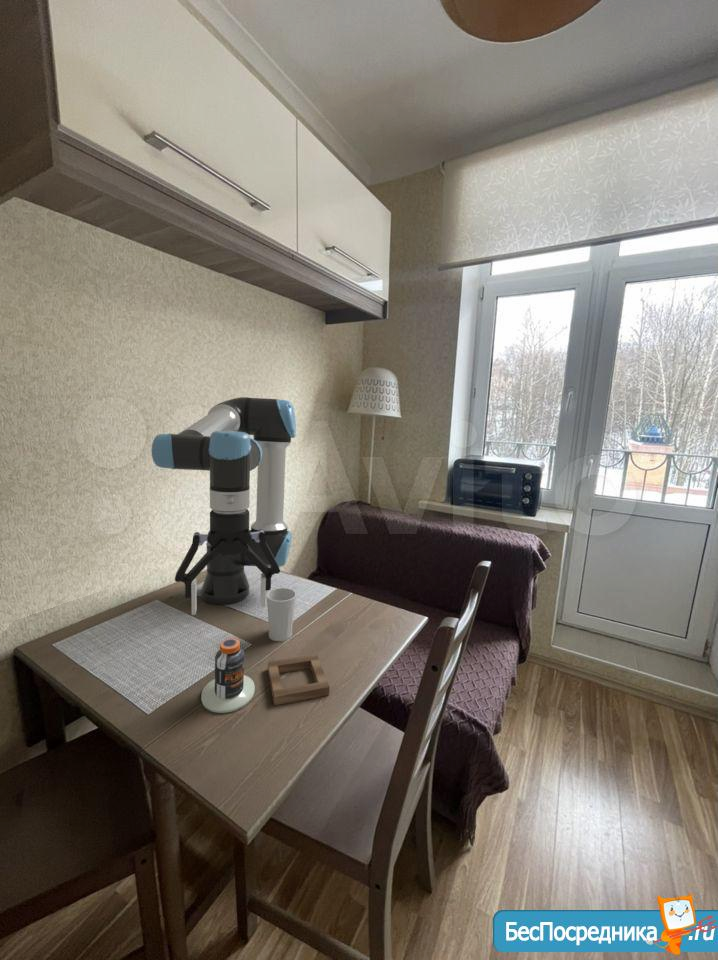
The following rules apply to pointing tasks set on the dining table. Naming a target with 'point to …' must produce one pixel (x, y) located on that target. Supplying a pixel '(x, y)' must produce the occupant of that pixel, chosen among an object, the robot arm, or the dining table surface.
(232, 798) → the dining table surface
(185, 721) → the dining table surface
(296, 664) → the open wooden frame
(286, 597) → the cup
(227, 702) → the pale green rounded part
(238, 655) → the pill bottle
